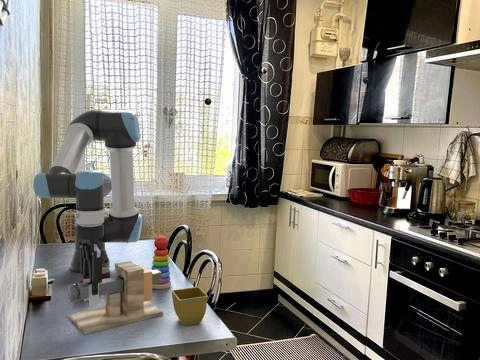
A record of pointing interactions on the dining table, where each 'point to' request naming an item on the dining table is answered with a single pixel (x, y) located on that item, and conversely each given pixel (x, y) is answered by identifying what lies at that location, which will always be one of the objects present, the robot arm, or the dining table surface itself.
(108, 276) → the mate gourd
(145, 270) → the collar
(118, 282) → the shaft
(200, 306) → the flower pot
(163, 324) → the dining table surface
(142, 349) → the dining table surface
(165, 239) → the stacking toy
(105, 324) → the stand
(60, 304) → the dining table surface
